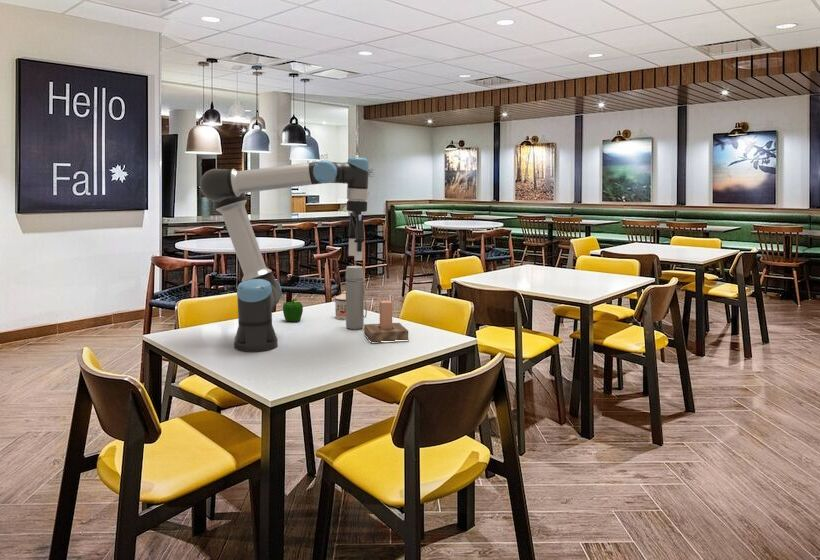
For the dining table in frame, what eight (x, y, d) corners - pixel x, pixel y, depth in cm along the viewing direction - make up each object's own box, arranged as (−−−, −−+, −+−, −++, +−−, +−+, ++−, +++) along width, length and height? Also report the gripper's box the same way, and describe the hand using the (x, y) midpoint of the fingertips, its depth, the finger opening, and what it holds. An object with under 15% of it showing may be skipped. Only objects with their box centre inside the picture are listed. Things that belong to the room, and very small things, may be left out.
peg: (381, 339, 234) (381, 303, 232) (379, 336, 238) (379, 301, 235) (392, 338, 235) (392, 302, 233) (389, 336, 239) (389, 300, 236)
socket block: (371, 343, 228) (371, 332, 227) (364, 334, 241) (364, 324, 241) (408, 341, 231) (408, 330, 231) (399, 332, 245) (399, 322, 244)
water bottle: (341, 328, 250) (341, 267, 246) (352, 325, 257) (352, 265, 253) (361, 331, 246) (360, 269, 242) (371, 327, 253) (371, 266, 249)
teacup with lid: (332, 319, 267) (332, 292, 265) (337, 315, 276) (337, 289, 274) (360, 320, 265) (360, 293, 264) (364, 316, 274) (364, 290, 272)
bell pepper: (282, 319, 266) (281, 296, 265) (301, 318, 269) (301, 295, 267) (284, 323, 258) (283, 300, 257) (304, 322, 261) (303, 299, 259)
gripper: (374, 202, 217) (371, 262, 220) (360, 199, 240) (359, 254, 244) (352, 201, 215) (350, 262, 218) (341, 198, 238) (340, 253, 242)
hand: (355, 258), depth 231 cm, fingers open, 13 cm apart
